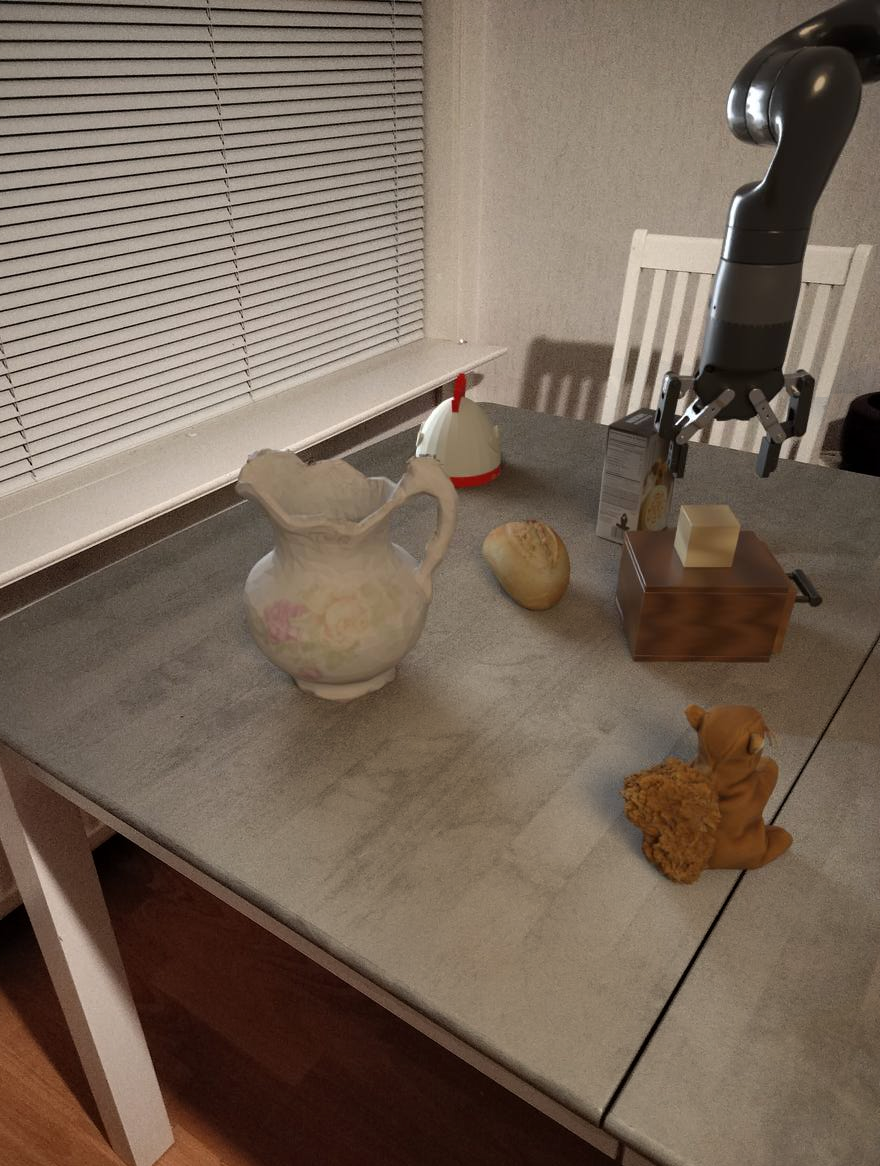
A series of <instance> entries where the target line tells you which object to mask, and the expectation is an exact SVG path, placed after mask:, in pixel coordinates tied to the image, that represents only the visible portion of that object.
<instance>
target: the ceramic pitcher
mask: <svg viewBox="0 0 880 1166" xmlns="http://www.w3.org/2000/svg"><path fill="white" fill-rule="evenodd" d="M285 449H286V450H279V449H271V448H269V447H268V448H266V447H265V448H262V449H260V450H255V451H254V452H253V453H251V454H248V455H247V456H248V457H247V459H246V463H245V464H244V465H243V466H241V468H240V471H239V473H238V476H237V483H236V484H235V486H234V491H235V493H236V494H237V495H238V496H239V497H242V498H243V499H244V500H247V501H248V502H251V503H252V504H254V505H256V506H257V507H258V508H259V509H260V511H261V512H262V513H263V515H264V516H265V517H266V518H267V520H268V522H269V523H270V525H271V527H272V530H273V536H274V543H275V544H274V548H273V549H272V550H271V551H270V552H269V553H267V554H266V555H265V556H263V557H262V558H260V559H259V560H258V561H257V562H256V563H255V564H254V565H253V567H252V569H251V570H250V572H249V573H248V577H247V578H246V582H245V585H244V592H243V611H244V616H245V622H246V626H247V628H248V632H249V635H250V637H251V639H252V641H253V643H254V644H255V646H256V648H258V650H259V651H260V652H261V654H262V655H263V656H264V657H265V658H266V659H267V660H268V661H269V662H270V663H271V664H273V665H274V666H275V667H277V668H279V669H280V671H281V670H282V672H284V673H286V674H287V675H290V676H291V677H292V678H293V681H294V682H295V684H296V686H297V688H298V689H300V690H301V691H302V692H304V693H306V694H308V695H310V696H312V697H314V698H317V699H323V700H327V701H333V702H337V703H342V704H345V703H348V702H350V701H352V700H356V699H358V698H360V697H363V696H367V695H368V694H372V693H374V692H376V691H379V690H380V689H382V688H383V687H385V686H386V685H387V684H390V683H391V682H393V681H395V678H396V670H397V665H398V664H399V663H400V662H401V661H402V660H404V658H405V657H406V656H407V655H408V654H409V653H411V651H412V650H413V649H414V648H415V646H416V645H417V643H418V642H419V639H420V638H421V637H422V634H423V631H424V629H425V626H426V623H427V621H428V620H427V618H428V611H429V607H430V606H431V604H432V602H433V601H434V574H435V572H436V570H437V569H438V567H439V566H441V564H442V563H443V561H444V559H445V556H446V554H447V553H448V549H449V547H450V545H451V543H452V540H453V538H454V536H455V533H456V531H457V526H458V517H459V495H458V493H457V491H456V487H454V485H453V483H452V482H451V480H450V478H449V476H448V475H447V473H446V472H445V469H444V466H442V465H443V464H442V463H443V462H440V460H437V459H436V455H433V459H431V458H429V459H428V458H427V457H428V456H429V457H432V456H431V455H430V454H419V457H417V456H416V453H415V454H414V455H412V456H411V457H410V458H408V459H405V460H403V461H402V462H403V465H404V464H405V465H406V470H405V471H404V472H403V474H402V475H401V478H400V480H399V481H398V482H397V483H395V482H394V481H392V480H390V479H389V478H387V477H386V476H370V477H367V476H366V475H364V473H362V472H361V471H359V470H358V469H356V468H355V467H353V466H352V465H351V464H349V463H348V461H346V460H344V459H342V458H336V459H333V460H332V459H321V460H318V461H315V462H312V463H311V462H310V463H309V464H307V463H306V462H303V460H302V459H301V458H300V457H299V456H298V455H297V453H295V452H294V451H292V450H291V449H289V448H285ZM435 459H436V460H435ZM425 495H426V496H429V497H432V498H434V501H435V509H436V521H437V522H436V524H435V526H434V530H433V532H432V533H431V536H430V538H429V540H428V542H427V544H426V546H425V548H424V553H423V556H422V560H421V561H420V562H419V561H418V560H417V559H415V557H414V556H413V555H412V554H410V552H408V551H407V550H406V549H405V548H404V547H402V546H401V545H398V544H396V543H394V542H392V541H391V537H390V531H391V518H392V515H393V513H394V512H396V511H398V510H400V509H401V508H402V507H403V506H405V504H407V503H408V502H410V501H411V500H414V499H416V498H418V497H422V496H425Z"/></svg>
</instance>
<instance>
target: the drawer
mask: <svg viewBox="0 0 880 1166" xmlns="http://www.w3.org/2000/svg"><path fill="white" fill-rule="evenodd" d="M759 540H760V539H759ZM760 542H761V544H762V545H763V547H764V548H765V550H766V551H767V553H768V554H769V556H770V557H771V559H772V560H773V562H774V563H775V565H776V566H777V568H778V569H779V571H780V573H781V574H782V576H783V577H784V579H785V580H786V582H787V583H788V585H789V586H790V587H789V591H788V595H787V598H786V602H785V606H784V609H783V613H782V617H781V620H780V624H779V628H778V631H777V635H776V639H775V642H774V646H773V650H772V653H781V652H782V648H783V645H784V641H785V638H786V634H787V631H788V627H789V623H790V620H791V617H792V612H793V609H794V605H795V604H808V605H809V606H810V607H811V608H816V607H819V606H821V605H822V604H823V597H822V596H821V595H820V593H819V592H818V590H817V589H816V588H815V586H814V584H813V583H812V581H811V580H810V579H809V578H808V577H809V576H807V574H806V573H805V572H804V570H803V569H800V568H797V569H793V571H792V572H786V571H785V570H784V569H783V567H782V566H781V564H780V562H779V561H778V560H777V558H776V556H775V555H774V554H773V552H772V550H771V548H770V547H769V546H768V544H767V543H766V541H765V540H763V539H761V540H760ZM794 584H795V585H794ZM796 587H797V588H798V589H797V588H796ZM798 590H799V592H800V593H801V594H802V595H798Z"/></svg>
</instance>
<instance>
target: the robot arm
mask: <svg viewBox="0 0 880 1166" xmlns="http://www.w3.org/2000/svg"><path fill="white" fill-rule="evenodd" d="M879 82H880V0H842V1H841V2H839V3H837V4H836V5H834V6H831V7H830V8H827V9H826V10H824V11H821V12H819V13H818V14H815V15H814V16H812V17H810V18H809V19H807V20H805V21H803V22H801V23H800V24H798V25H796V26H795V27H793V28H791V29H790V30H789V29H788V30H787V31H786V32H784V33H782V34H781V35H780V36H778V37H776V38H774V39H773V40H771V41H770V42H769V43H767V44H766V45H764V46H762V48H760V49H759V50H758V51H757V52H755V54H754V55H752V57H750V58H749V59H748V60H747V61H746V63H745V64H744V65H743V66H742V68H741V69H740V70H739V72H738V73H737V75H736V76H735V79H733V82H732V84H731V87H730V88H729V91H728V94H727V98H726V103H725V119H726V124H727V126H728V129H729V131H730V132H731V134H732V135H733V136H734V137H735V138H736V139H737V141H739V142H741V143H742V144H745V145H748V146H751V147H755V148H763V149H764V148H765V149H766V148H767V149H775V151H774V154H773V157H772V159H771V162H770V164H769V166H768V167H767V170H766V172H765V175H763V178H762V179H760V180H755V181H750V182H748V183H745V184H742V185H741V186H739V187H738V188H736V190H735V191H734V193H733V195H732V196H731V199H730V201H729V205H728V210H727V215H726V219H725V224H724V225H725V226H724V232H723V238H722V243H721V250H720V256H719V260H718V265H717V268H716V271H715V275H714V278H713V280H712V281H713V282H712V287H711V292H710V296H709V298H708V301H707V308H708V309H707V310H708V311H707V316H706V323H705V328H704V334H703V340H702V346H701V352H700V357H699V365H698V368H697V369H696V371H695V373H694V374H693V375H684V374H676V373H675V372H674V371H672V370H668V371H667V372H665V373H664V374H663V377H662V380H661V381H662V382H661V387H660V392H659V396H658V401H657V406H656V409H655V410H656V415H655V420H654V428H655V430H656V432H657V433H658V435H659V437H660V438H662V439H669V440H670V447H669V454H668V460H667V465H668V468H669V470H670V472H671V473H673V475H674V477H675V479H684V476H685V470H686V464H687V458H688V453H689V446H690V445H689V443H688V442H689V441H690V439H692V438H693V436H694V435H695V434H696V433H697V432H698V431H700V430H702V429H704V428H706V426H707V425H708V424H709V423H711V421H712V420H713V419H714V420H716V422H726V421H731V420H736V421H741V422H749V421H751V419H753V418H757V419H758V421H759V422H760V424H761V426H762V427H763V429H764V431H765V432H766V434H765V436H762V437H761V442H760V446H759V451H758V456H757V459H756V464H755V473H756V474H757V476H758V477H759V478H760V479H768V478H769V477H770V474H771V473H774V472H775V471H776V469H777V467H778V463H779V458H780V454H781V451H782V447H783V443H784V442H785V441H787V440H788V439H791V438H794V437H796V438H801V437H804V436H805V435H806V433H807V430H808V425H809V419H810V415H811V414H810V413H811V408H812V403H813V397H814V391H815V387H816V386H815V385H816V379H815V377H813V376H812V375H811V373H809V372H808V371H806V370H805V369H803V368H800V369H797V370H796V371H795V372H794V373H784V372H783V367H784V365H785V361H786V358H787V357H786V356H787V352H788V347H789V344H790V338H791V335H792V330H793V326H794V320H795V317H796V316H795V315H796V313H797V307H798V302H799V298H800V293H801V288H802V282H803V281H802V280H803V271H804V269H803V268H804V263H805V255H806V252H807V248H808V243H809V238H810V234H811V233H810V232H811V228H812V225H813V220H814V215H815V210H816V207H817V205H818V204H819V201H820V199H821V197H822V195H823V194H824V191H825V189H826V188H827V185H828V183H829V182H830V179H831V177H832V174H833V172H834V170H835V167H836V166H837V164H838V161H839V160H840V157H841V155H842V153H843V151H844V149H845V147H846V145H847V143H848V141H849V138H850V136H851V134H852V132H853V129H854V127H855V125H856V122H857V119H858V116H859V113H860V109H861V105H862V99H863V87H864V86H870V85H873V84H876V83H879ZM783 388H785V392H786V394H787V395H788V396H789V400H788V406H787V413H786V418H785V421H783V422H780V421H779V419H778V417H777V415H776V414H775V412H774V411H773V409H772V407H771V405H770V403H771V402H772V400H773V399H775V398H776V396H777V395H779V393H780V392H781V391H782V390H783ZM691 389H692V390H693V391H694V393H695V395H696V398H695V399H694V400H693V401H692V403H690V405H689V406H687V408H686V409H685V411H684V413H683V415H681V416H682V417H681V418H680V419H679V420H678V422H677V423H676V424H673V421H674V416H675V414H676V413H677V407H678V403H679V400H681V399H683V398H684V397H685V396H686V394H687V392H688V391H689V390H691Z"/></svg>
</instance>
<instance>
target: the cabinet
mask: <svg viewBox="0 0 880 1166" xmlns="http://www.w3.org/2000/svg"><path fill="white" fill-rule="evenodd" d="M676 531H677V530H660V531H625V533H624V540H623V544H622V548H621V553H620V555H621V556H620V563H619V568H618V569H619V570H618V575H617V576H618V577H617V584H616V592H615V597H614V598H615V599H614V602H615V605H616V609H617V612H618V616H619V618H620V622H621V625H622V629H623V632H624V634H625V637H626V638H625V639H626V641H627V644H628V648H629V651H630V654H631V657H632V660H633V662H679V663H681V662H684V663H685V662H686V663H687V662H690V663H691V662H692V663H693V662H695V663H697V662H701V663H702V662H703V663H769V662H770V661H771V657H772V653H773V652H772V650H773V646H774V642H775V639H776V635H777V631H778V628H779V624H780V620H781V617H782V613H783V609H784V606H785V602H786V598H787V595H788V591H789V587H790V586H789V585H788V583H787V582H786V580H785V579H784V577H783V576H782V574H781V573H780V571H779V569H778V568H777V566H776V565H775V563H774V562H773V560H772V559H771V557H770V556H769V554H768V553H767V551H766V550H765V548H764V547H763V545H762V544H761V542H760V539H759V538H758V536H757V534H756V533H755V531H754V530H740V531H739V536H738V540H737V545H736V549H735V553H734V558H733V562H732V567H731V568H729V567H684V566H683V564H682V562H681V559H680V557H679V555H678V553H677V551H676V549H675V547H674V543H675V537H676Z"/></svg>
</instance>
